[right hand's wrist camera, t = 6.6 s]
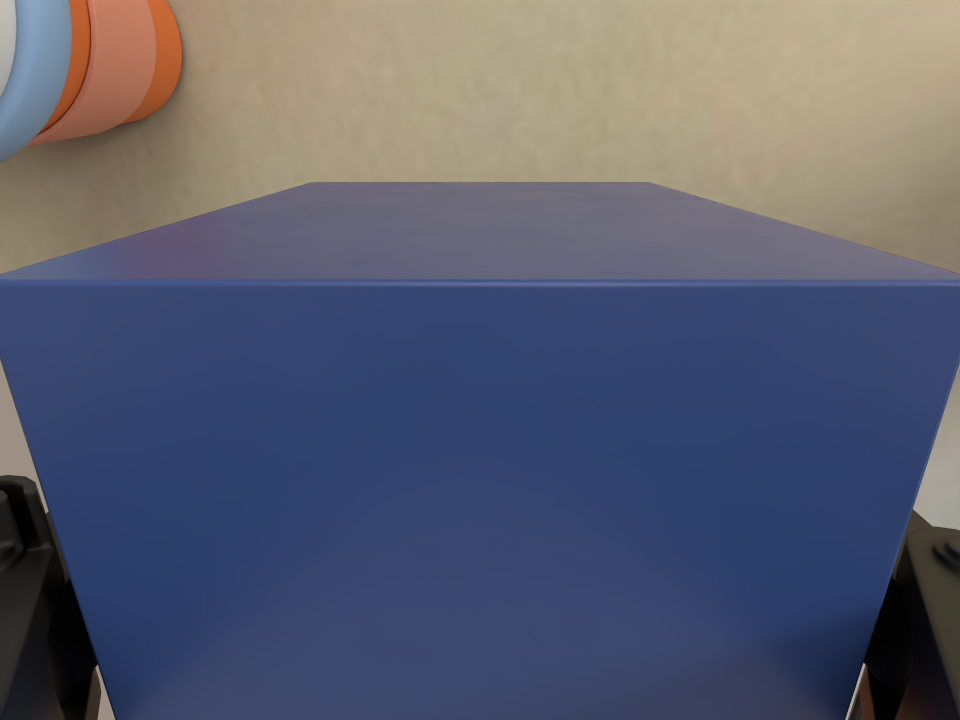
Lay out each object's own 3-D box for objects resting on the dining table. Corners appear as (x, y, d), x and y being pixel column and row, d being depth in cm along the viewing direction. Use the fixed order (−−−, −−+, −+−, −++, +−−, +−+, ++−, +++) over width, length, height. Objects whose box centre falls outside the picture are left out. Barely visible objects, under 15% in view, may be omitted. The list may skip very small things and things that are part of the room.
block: (341, 490, 18) (175, 915, 8) (309, 181, 15) (-29, 280, 5) (619, 490, 18) (784, 916, 8) (650, 181, 15) (989, 280, 5)
